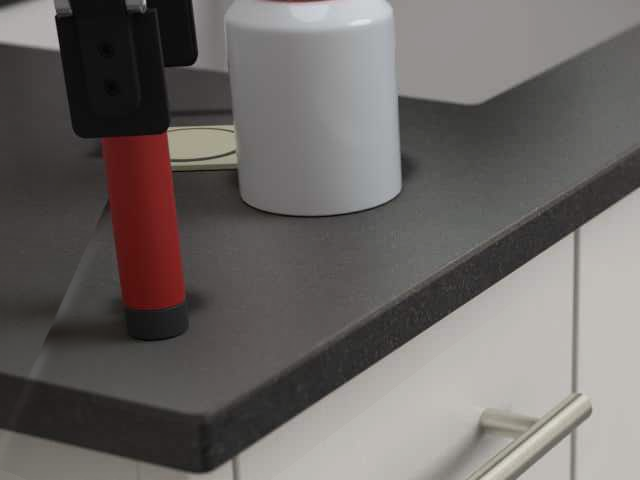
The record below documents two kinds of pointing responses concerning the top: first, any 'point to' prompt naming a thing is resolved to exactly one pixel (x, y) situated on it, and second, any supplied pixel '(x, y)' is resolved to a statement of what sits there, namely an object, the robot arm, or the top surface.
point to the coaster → (202, 148)
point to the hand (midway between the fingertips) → (141, 97)
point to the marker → (146, 235)
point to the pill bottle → (314, 104)
